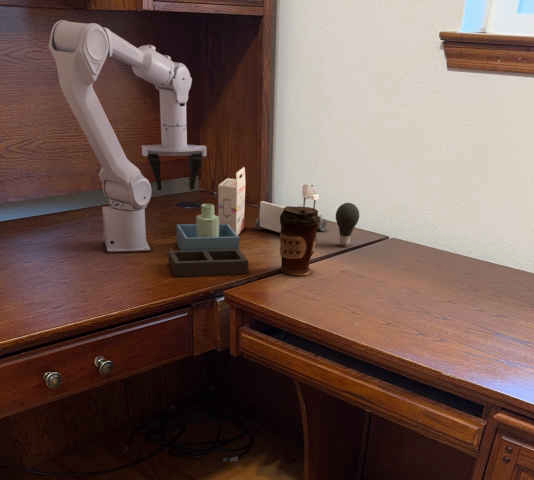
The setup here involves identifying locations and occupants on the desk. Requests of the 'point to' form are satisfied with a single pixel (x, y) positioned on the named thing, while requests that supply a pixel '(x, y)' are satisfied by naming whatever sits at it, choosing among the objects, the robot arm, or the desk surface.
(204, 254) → the bottle rack
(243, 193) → the ink cartridge box
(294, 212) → the coffee cup
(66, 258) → the desk surface
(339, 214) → the light bulb
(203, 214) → the bottle
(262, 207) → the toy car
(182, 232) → the basket
